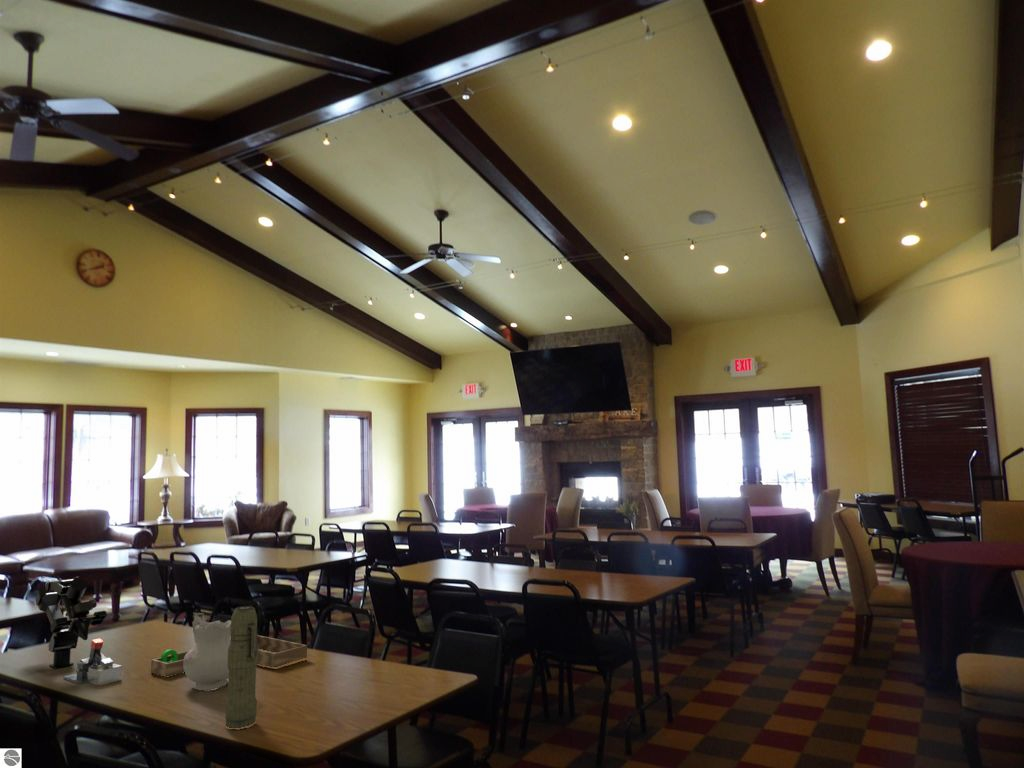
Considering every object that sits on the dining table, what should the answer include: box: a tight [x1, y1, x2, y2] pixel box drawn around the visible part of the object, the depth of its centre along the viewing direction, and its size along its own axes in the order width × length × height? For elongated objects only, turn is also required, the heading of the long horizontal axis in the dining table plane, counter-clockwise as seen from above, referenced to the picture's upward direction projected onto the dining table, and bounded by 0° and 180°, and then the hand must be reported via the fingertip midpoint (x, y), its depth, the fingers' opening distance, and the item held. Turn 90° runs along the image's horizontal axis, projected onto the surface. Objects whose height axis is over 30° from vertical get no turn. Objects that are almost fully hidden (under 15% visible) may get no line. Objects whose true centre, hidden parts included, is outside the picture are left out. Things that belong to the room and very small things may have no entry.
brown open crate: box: [257, 634, 308, 667], centre depth 291 cm, size 35×16×6 cm, turn 56°
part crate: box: [150, 650, 190, 677], centre depth 276 cm, size 11×17×5 cm, turn 146°
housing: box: [87, 662, 123, 686], centre depth 263 cm, size 8×8×5 cm
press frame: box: [62, 660, 100, 685], centre depth 268 cm, size 12×14×6 cm
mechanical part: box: [160, 648, 178, 663], centre depth 277 cm, size 12×6×8 cm, turn 138°
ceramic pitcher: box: [183, 612, 231, 691], centre depth 258 cm, size 22×20×25 cm
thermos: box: [224, 605, 258, 728], centre depth 219 cm, size 9×12×35 cm
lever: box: [79, 638, 114, 672], centre depth 266 cm, size 16×4×12 cm, turn 56°
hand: (86, 639), depth 272 cm, fingers closed
